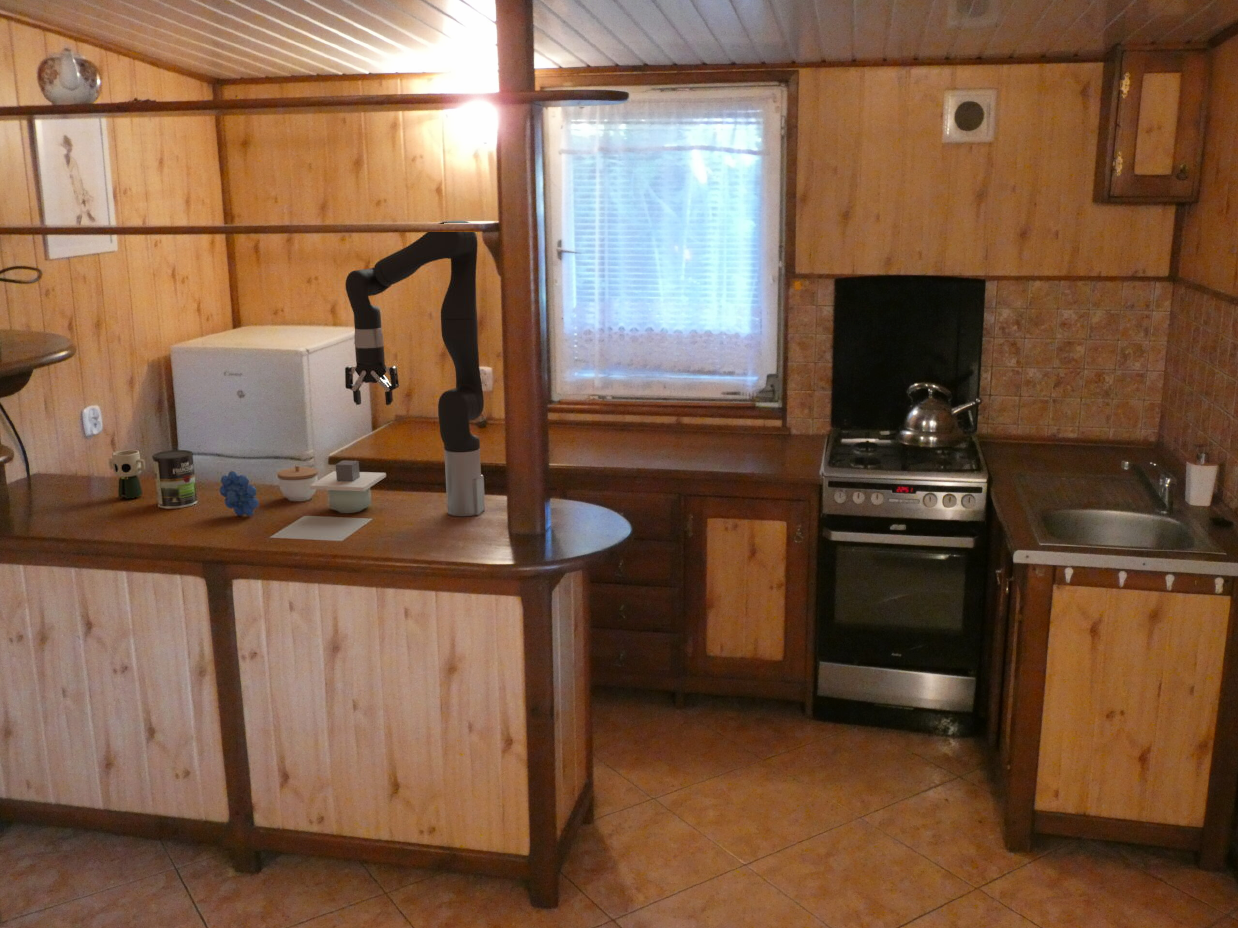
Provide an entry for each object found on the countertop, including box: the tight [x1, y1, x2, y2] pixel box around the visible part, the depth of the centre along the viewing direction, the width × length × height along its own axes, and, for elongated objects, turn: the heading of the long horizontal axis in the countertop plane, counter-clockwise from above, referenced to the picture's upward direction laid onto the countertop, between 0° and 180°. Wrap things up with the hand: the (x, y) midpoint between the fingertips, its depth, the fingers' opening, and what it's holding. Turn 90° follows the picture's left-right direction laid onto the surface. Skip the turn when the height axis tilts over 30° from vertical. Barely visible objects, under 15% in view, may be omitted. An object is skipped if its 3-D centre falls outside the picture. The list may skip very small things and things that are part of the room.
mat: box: [269, 515, 373, 542], centre depth 282 cm, size 19×19×1 cm
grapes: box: [219, 470, 259, 517], centre depth 293 cm, size 12×7×12 cm, turn 70°
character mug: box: [108, 449, 146, 500], centre depth 312 cm, size 11×7×13 cm, turn 79°
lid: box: [310, 459, 387, 491], centre depth 296 cm, size 15×15×6 cm
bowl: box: [327, 487, 372, 514], centre depth 298 cm, size 11×11×8 cm
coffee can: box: [151, 449, 199, 510], centre depth 305 cm, size 10×10×14 cm
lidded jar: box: [277, 465, 319, 502], centre depth 310 cm, size 11×11×9 cm
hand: (373, 404), depth 303 cm, fingers open, 8 cm apart
